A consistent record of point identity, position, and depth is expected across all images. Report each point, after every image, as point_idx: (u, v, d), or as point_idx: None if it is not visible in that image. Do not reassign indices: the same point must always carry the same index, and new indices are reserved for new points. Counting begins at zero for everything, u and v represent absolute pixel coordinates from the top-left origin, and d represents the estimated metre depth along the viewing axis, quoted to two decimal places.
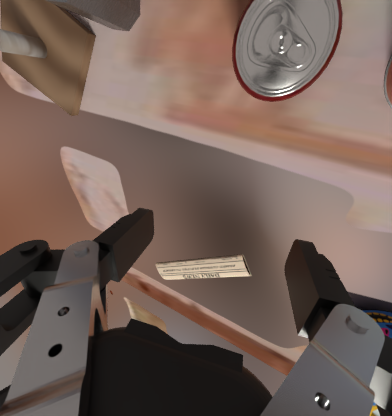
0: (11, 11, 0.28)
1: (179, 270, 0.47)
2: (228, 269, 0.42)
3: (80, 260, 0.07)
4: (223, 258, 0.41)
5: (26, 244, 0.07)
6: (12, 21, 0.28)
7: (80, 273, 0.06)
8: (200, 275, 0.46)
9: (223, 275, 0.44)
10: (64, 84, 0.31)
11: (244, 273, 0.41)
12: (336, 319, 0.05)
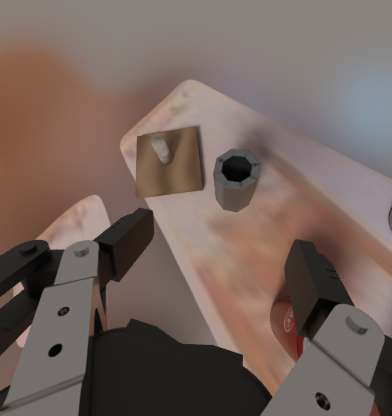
0: (173, 137, 0.39)
1: None
2: None
3: (79, 260, 0.07)
4: None
5: (26, 244, 0.07)
6: (168, 138, 0.39)
7: (80, 273, 0.06)
8: None
9: None
10: (156, 182, 0.37)
11: None
12: (336, 319, 0.05)
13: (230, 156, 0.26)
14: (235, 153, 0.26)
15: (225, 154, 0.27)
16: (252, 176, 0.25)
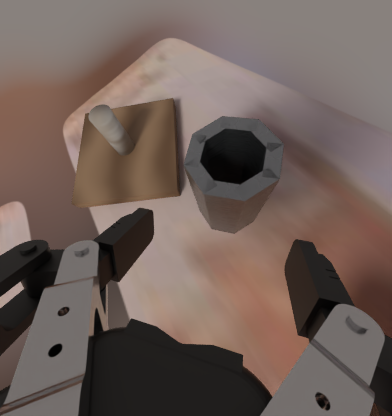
0: (138, 114, 0.26)
1: None
2: None
3: (80, 260, 0.07)
4: None
5: (26, 244, 0.07)
6: (131, 116, 0.26)
7: (80, 273, 0.06)
8: None
9: None
10: (105, 183, 0.23)
11: None
12: (336, 319, 0.05)
13: (220, 130, 0.13)
14: (229, 123, 0.13)
15: (210, 126, 0.13)
16: (267, 171, 0.11)
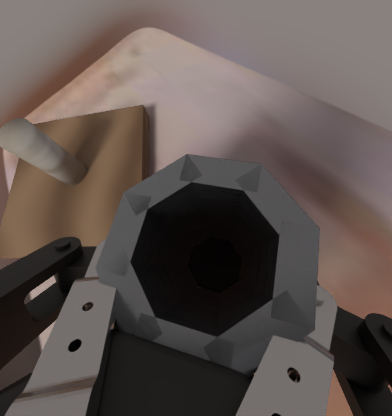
0: (96, 126, 0.19)
1: None
2: None
3: None
4: None
5: (62, 240, 0.07)
6: (86, 129, 0.19)
7: None
8: None
9: None
10: (42, 226, 0.16)
11: None
12: None
13: (180, 186, 0.06)
14: (200, 171, 0.06)
15: (160, 176, 0.06)
16: (282, 303, 0.05)
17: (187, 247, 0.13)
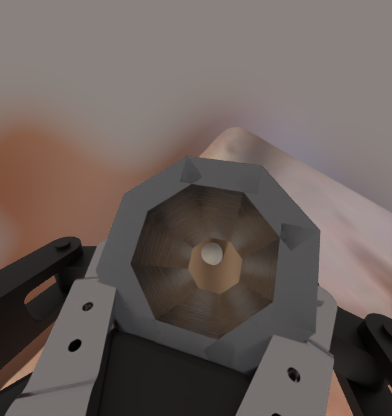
0: None
1: None
2: None
3: None
4: None
5: (62, 240, 0.07)
6: None
7: None
8: None
9: None
10: None
11: None
12: None
13: (181, 188, 0.06)
14: (201, 173, 0.06)
15: (161, 178, 0.06)
16: (283, 305, 0.05)
17: (187, 248, 0.13)
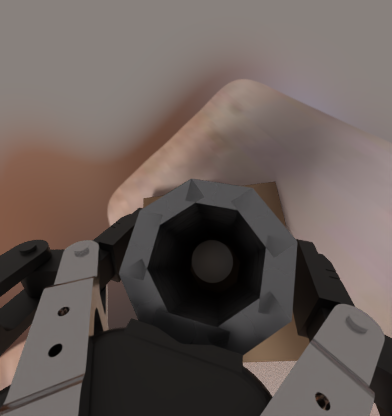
0: None
1: None
2: None
3: (80, 260, 0.07)
4: None
5: (26, 244, 0.07)
6: None
7: (80, 273, 0.06)
8: None
9: None
10: None
11: None
12: (336, 319, 0.05)
13: (186, 206, 0.07)
14: (202, 193, 0.08)
15: (170, 197, 0.08)
16: (267, 300, 0.06)
17: (190, 251, 0.15)
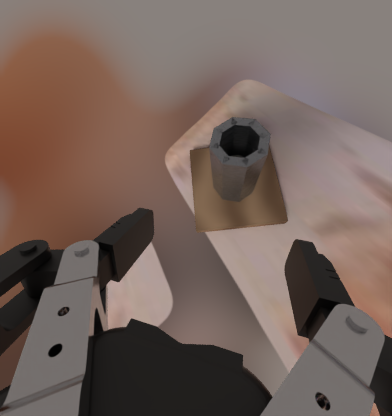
0: None
1: None
2: None
3: (80, 260, 0.07)
4: None
5: (26, 244, 0.07)
6: None
7: (80, 273, 0.06)
8: None
9: None
10: (222, 213, 0.28)
11: None
12: (336, 319, 0.05)
13: (231, 126, 0.21)
14: (237, 121, 0.21)
15: (225, 123, 0.21)
16: (260, 150, 0.19)
17: None
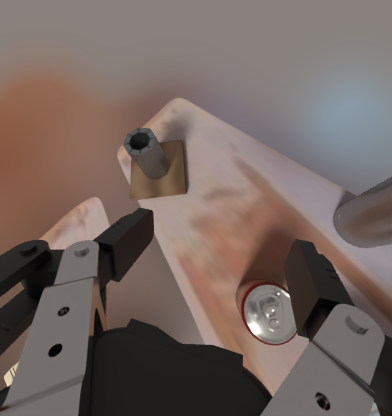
0: (163, 148, 0.46)
1: None
2: None
3: (80, 260, 0.07)
4: None
5: (26, 244, 0.07)
6: None
7: (80, 273, 0.06)
8: None
9: None
10: (147, 187, 0.44)
11: None
12: (336, 319, 0.05)
13: (137, 132, 0.36)
14: (140, 130, 0.36)
15: (133, 131, 0.36)
16: (149, 146, 0.35)
17: None
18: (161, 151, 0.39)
